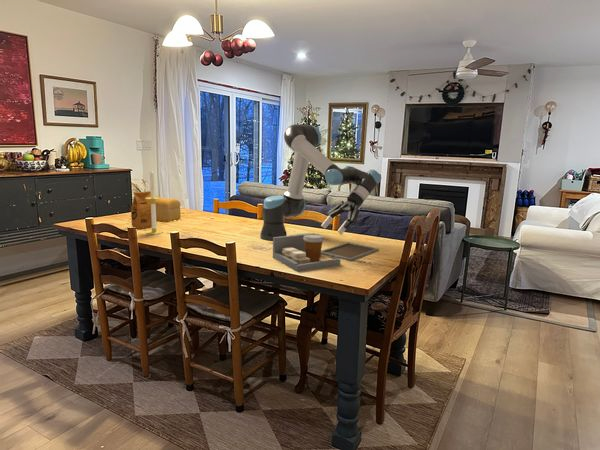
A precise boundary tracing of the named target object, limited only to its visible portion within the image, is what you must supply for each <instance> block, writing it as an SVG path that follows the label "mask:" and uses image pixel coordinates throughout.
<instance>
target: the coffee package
mask: <svg viewBox="0 0 600 450" xmlns="http://www.w3.org/2000/svg"><path fill="white" fill-rule="evenodd" d="M146 197H151V190H147V191H143V192H141V191H134V192H133V199H132V203H131V207H130V208H131V209H130V212H131V214H130V216H131V217H130V219H131V227H132V228H134V227H136V228H137V230H141V229H149V228H148V227H150V228H152V217H151V200H149V199H145V198H146ZM136 228H135V229H136Z"/></svg>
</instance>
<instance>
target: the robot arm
mask: <svg viewBox="0 0 600 450" xmlns="http://www.w3.org/2000/svg"><path fill="white" fill-rule="evenodd" d="M283 136H284V137H283V138H284V142H285V144H286V145H287V146H288V148H290V149H291V150H292V151H294V157H293V162H292V163H293V164H292V167H291V171H290V172H291V173H290V176H289V182H288V187H287V189H286V191H285V192H283V195H271V196H267V197H265V199H264V200H263V207H262V208H263V225H262V227H261V230H260V232H259V233H260V235H259V236H260V237H259V238H260V239H262V240H265V241H266V240H267V241H273V237H282V236H288V233H287V230H286V227H285V219H287V218H295V217H299V216H301V215H302V214H303V213H304V212H305V210H306V206H307V204H306V201H305V199H304V194H303V190H304V186H305V180H306V177H307V174H308V173H307V172H308V168H309V164H311V165H312V166H313V167H314V168H316V170H318V171H319V172H320V173H321V174H322V175H324V178H325V179H324V180H325V181H326V184H328V185H330V186H339V185H350V184H351V185H352V184H353V185H355V187H354V188H353V190H352V192H350V194H349V195H347V198H346V199H347V201H346V202H344V201H343V200H341V202H340V203H338V204H337V205H336V206H334V207H333V208H332V209H330V210H329V211H328V212H327V215H328V216H327V217H326V218H325V220H324V221H323V222H322V224H321V225H320V226H321V227H322V228H323V229H324V230H326V229H327V227H328V226H329V225H330V224H331V222H332V221H333V220H334V218H336V217H337V216H339V215H341V214H343V213H348V214H347V219H346V220H345V221H344V222H343V223H342V224H341V226H339V228H338V230H337V232H338V233H339V235H341V236H342V235H343V234H344V233H345V231H346V230H347V229H348V228H349V227H350V225H352V224H356V223H357V220H358V217H359V214H360V212H361V210H362V205H363V204H364V202H365V201H366V200H367V198H368V197H369V196H370V195H371V194H372V192H373V191H374V190H375V188H376V187H377V186H378V185H379V184H380V182H381V181H382V176H381V173H379V172H378V171H377V170H375V169H369V170H368V171H367V172H366V171H363V170H360V169H358V168H356V167H354V166H350V165H346V166H345V167H344V168H341V167H339V166H338V165H337V164H336V163H334V162H333V161H332V160H330V159H329V157H327V156H326V155H325V154H324V153H323V152H321V151H320V150H319V149H318V148H317V147H318V146H319V145H320V144H321V141H322V134H321V132H320V129H319V128H318V127H317V126H315V125H310V124H297V123H294V124H291V125H289V126H287V128H286V129H285V131H284V135H283Z"/></svg>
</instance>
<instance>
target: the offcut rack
mask: <svg viewBox="0 0 600 450" xmlns="http://www.w3.org/2000/svg"><path fill="white" fill-rule="evenodd" d="M306 234H307V233H304V234H303V233H302V234H294V235H287V236H282V237H273V240H272V258H273V259H275V260H276V261H277V262H279V263H281V264H283V265H284V266H287V267H288V268H290V269H292V270H294V271H295V272H301V271H307V270H308V271H309V270H314V269H321V268H328V267H334V266H341V260H342V259H339V258H336V259H326V260H319V262H310V263H305V264H298V263H297V262H295V261H293V260H291V259H289V258H287V257H285V256H283V255H282V248H287V247H293V248H295V249H298V250H300V251H303V252H305V243H304V239H303V238H304V235H306ZM309 234H316V233H315V232H313V233H311V232H310V233H309Z"/></svg>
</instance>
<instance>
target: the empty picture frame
mask: <svg viewBox="0 0 600 450" xmlns="http://www.w3.org/2000/svg"><path fill="white" fill-rule="evenodd" d="M378 251H379V248H378V247H377V248H376V247H373V246H367V245H363V244H358V243H353V242H345V243H342V244H339V245H335V246H332V247H328V248H325V249H323V250H322V249H321V254H320V255H323V256H327V257H328V258H329V259H331V260H333V259H341V260H345V261H348V262H352V261H355V260H357V259H361V258H363V257H365V256H368V255H371V254H373V253H376V252H378Z"/></svg>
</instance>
